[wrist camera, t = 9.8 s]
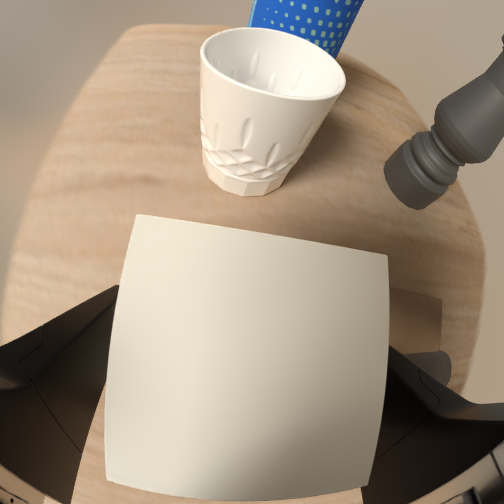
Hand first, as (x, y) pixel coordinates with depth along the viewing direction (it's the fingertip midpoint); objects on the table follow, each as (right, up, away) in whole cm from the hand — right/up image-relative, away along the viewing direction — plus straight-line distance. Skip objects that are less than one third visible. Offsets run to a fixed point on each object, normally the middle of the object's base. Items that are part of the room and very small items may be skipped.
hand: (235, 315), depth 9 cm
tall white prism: (-1, -3, +5) cm, 7 cm away
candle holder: (+16, +9, +15) cm, 24 cm away
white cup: (0, +9, +12) cm, 15 cm away
